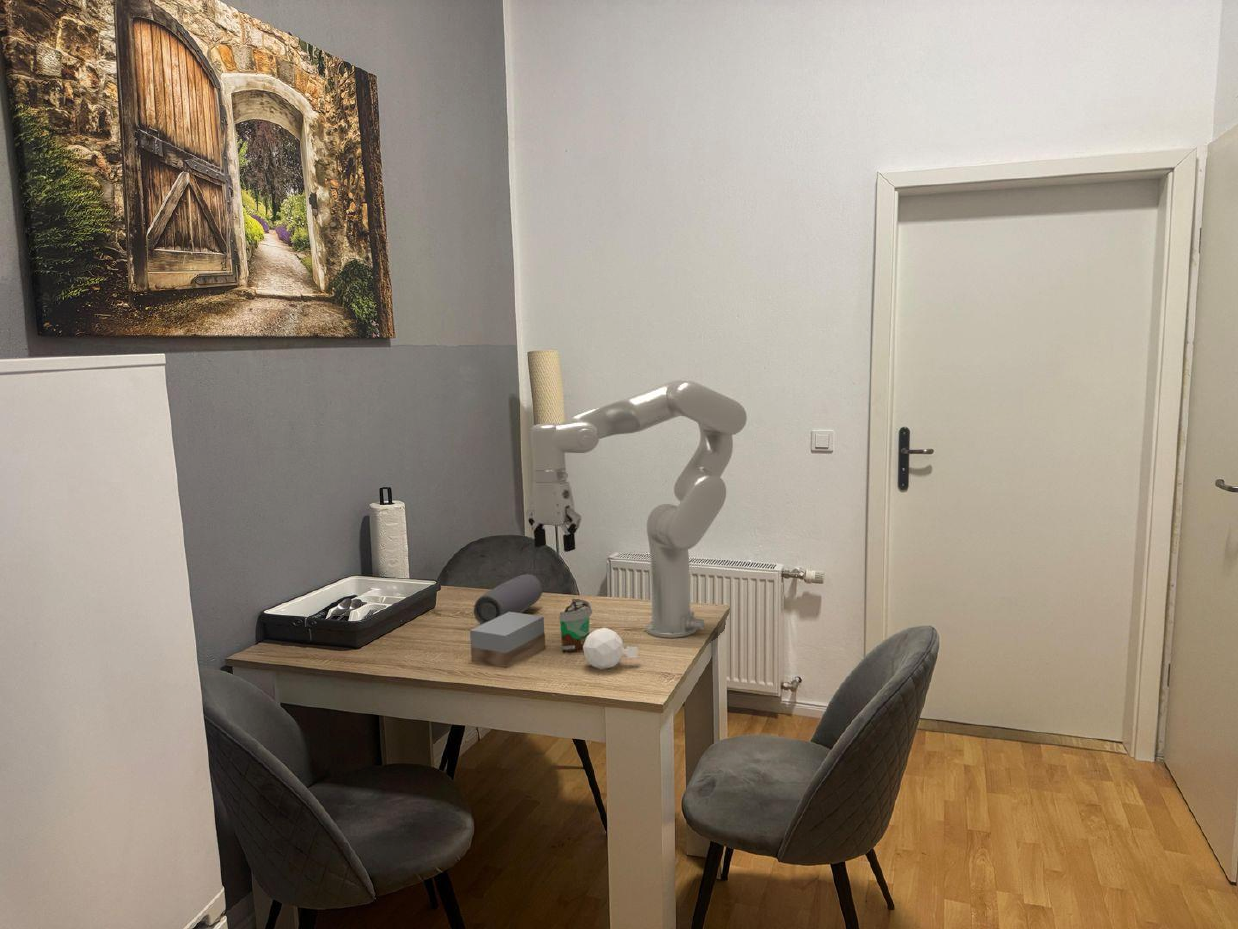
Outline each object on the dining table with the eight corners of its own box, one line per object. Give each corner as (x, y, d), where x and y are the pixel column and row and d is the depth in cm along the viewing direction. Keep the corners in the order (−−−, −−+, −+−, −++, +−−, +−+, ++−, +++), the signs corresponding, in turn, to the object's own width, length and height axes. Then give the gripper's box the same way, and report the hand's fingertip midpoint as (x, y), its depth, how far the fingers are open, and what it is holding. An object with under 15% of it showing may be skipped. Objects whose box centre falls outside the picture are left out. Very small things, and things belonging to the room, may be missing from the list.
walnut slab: (545, 649, 204) (544, 633, 203) (506, 670, 191) (505, 653, 190) (511, 643, 209) (510, 627, 208) (471, 663, 196) (470, 646, 195)
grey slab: (544, 633, 203) (543, 616, 203) (506, 653, 190) (505, 635, 190) (510, 627, 208) (509, 611, 208) (470, 647, 195) (469, 630, 195)
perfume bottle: (580, 669, 184) (636, 673, 184) (584, 625, 185) (639, 630, 186) (580, 667, 192) (634, 671, 193) (584, 625, 194) (637, 630, 194)
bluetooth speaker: (514, 606, 239) (513, 571, 238) (544, 608, 236) (543, 573, 235) (472, 630, 218) (470, 592, 217) (504, 634, 215) (502, 595, 214)
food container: (586, 655, 197) (585, 613, 196) (560, 654, 198) (559, 612, 197) (598, 638, 209) (597, 598, 208) (574, 637, 210) (572, 598, 209)
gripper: (588, 476, 197) (592, 549, 199) (536, 472, 208) (540, 541, 210) (565, 481, 191) (570, 556, 193) (513, 476, 202) (518, 547, 205)
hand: (554, 548), depth 202 cm, fingers open, 9 cm apart
